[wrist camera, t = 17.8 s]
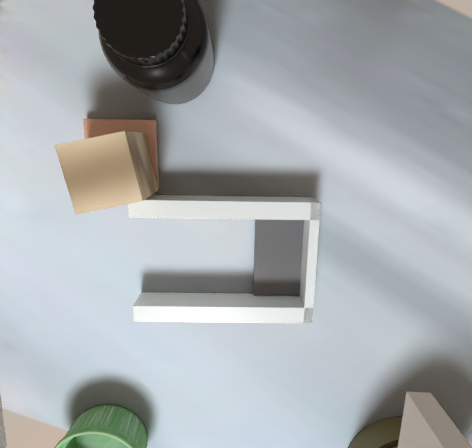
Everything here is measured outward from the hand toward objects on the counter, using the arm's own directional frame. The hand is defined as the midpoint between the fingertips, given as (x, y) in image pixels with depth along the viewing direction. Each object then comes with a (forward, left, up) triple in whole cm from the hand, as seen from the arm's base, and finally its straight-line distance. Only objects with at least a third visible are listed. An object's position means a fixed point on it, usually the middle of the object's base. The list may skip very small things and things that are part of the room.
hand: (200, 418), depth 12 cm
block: (+8, -6, -22) cm, 24 cm away
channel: (0, +2, -23) cm, 23 cm away
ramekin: (+12, +22, -23) cm, 34 cm away
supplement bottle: (+4, -15, -23) cm, 28 cm away
